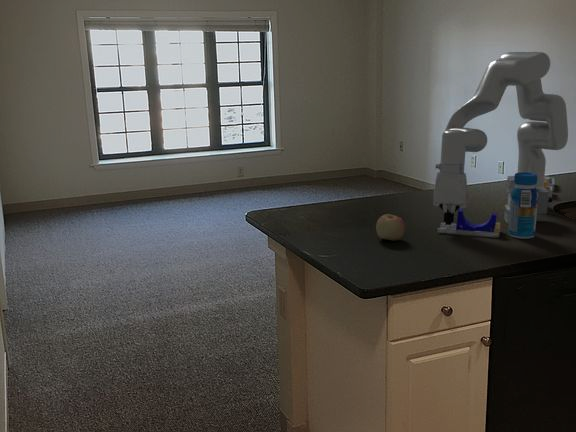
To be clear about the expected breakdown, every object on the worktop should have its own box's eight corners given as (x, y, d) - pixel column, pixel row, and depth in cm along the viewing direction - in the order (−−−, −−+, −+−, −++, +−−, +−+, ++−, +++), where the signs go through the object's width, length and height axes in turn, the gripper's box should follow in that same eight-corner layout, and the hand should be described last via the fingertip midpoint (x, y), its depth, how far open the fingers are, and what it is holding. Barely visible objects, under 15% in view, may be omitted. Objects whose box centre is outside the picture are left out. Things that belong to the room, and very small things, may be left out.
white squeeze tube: (440, 227, 214) (441, 218, 214) (500, 231, 208) (500, 222, 207) (437, 233, 208) (437, 224, 207) (498, 237, 201) (499, 228, 200)
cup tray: (517, 182, 280) (518, 175, 279) (553, 184, 275) (554, 177, 274) (516, 189, 267) (516, 182, 266) (554, 191, 262) (554, 184, 261)
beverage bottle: (502, 235, 204) (506, 173, 198) (517, 230, 208) (521, 170, 203) (525, 241, 197) (530, 177, 192) (541, 235, 202) (546, 174, 197)
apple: (382, 235, 207) (382, 211, 205) (408, 238, 203) (408, 214, 201) (371, 242, 200) (371, 217, 198) (398, 245, 195) (399, 220, 193)
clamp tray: (508, 191, 264) (508, 184, 263) (551, 193, 258) (552, 186, 257) (507, 195, 256) (507, 188, 256) (551, 198, 250) (552, 190, 250)
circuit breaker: (551, 224, 215) (554, 180, 211) (506, 223, 217) (509, 180, 214) (547, 218, 222) (550, 176, 218) (504, 217, 224) (507, 175, 221)
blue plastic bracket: (455, 230, 207) (457, 212, 205) (456, 226, 211) (458, 209, 209) (494, 234, 203) (496, 216, 202) (494, 230, 207) (496, 213, 206)
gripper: (426, 169, 204) (423, 224, 208) (474, 172, 198) (470, 229, 202) (430, 165, 210) (427, 219, 215) (477, 168, 205) (473, 223, 209)
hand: (448, 224), depth 208 cm, fingers closed
